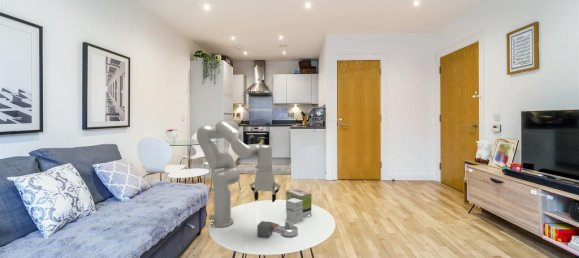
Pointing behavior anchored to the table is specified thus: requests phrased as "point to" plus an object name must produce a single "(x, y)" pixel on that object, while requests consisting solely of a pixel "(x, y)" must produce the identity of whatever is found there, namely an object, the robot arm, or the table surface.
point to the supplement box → (294, 210)
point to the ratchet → (286, 229)
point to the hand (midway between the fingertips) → (265, 200)
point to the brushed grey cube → (264, 229)
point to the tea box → (301, 196)
